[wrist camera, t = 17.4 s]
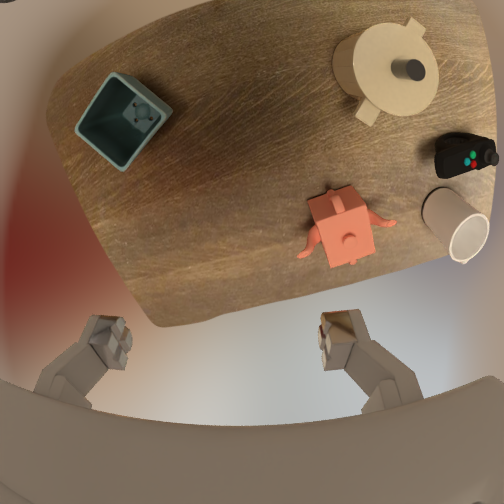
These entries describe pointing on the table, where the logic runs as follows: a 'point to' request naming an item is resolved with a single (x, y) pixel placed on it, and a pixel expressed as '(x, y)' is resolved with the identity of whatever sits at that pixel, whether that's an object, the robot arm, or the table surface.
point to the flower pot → (122, 119)
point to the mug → (455, 223)
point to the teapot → (342, 226)
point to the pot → (346, 78)
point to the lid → (395, 69)
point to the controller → (463, 154)
